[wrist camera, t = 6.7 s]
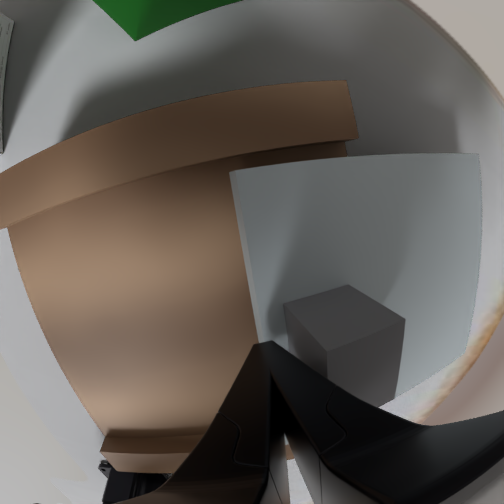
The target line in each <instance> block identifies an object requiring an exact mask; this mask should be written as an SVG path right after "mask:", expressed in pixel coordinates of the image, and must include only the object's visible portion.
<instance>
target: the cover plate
mask: <svg viewBox="0 0 504 504" xmlns="http://www.w3.org/2000/svg"><path fill="white" fill-rule="evenodd" d="M229 175H230V181H231V186H232V192H233V198H234V204H235V210H236V216H237V222H238V227H239V233H240V239H241V245H242V251H243V256H244V262H245V268H246V273H247V279H248V285H249V290H250V296H251V301H252V307H253V313H254V318H255V324H256V329H257V335H258V340H259V343H261V342H266V341H270V340H273V341H274V342H276V343H277V344H279V345H280V346H281V347H283V348H284V349H286V350H287V351H288V352H290V353H291V354H293V355H294V356H295V357H297V358H298V359H300V360H301V361H303V362H304V363H305V364H307V365H308V366H310V367H311V368H313V369H314V370H316V371H317V372H319V373H320V374H322V375H323V376H324V377H326V378H327V379H329V380H330V381H332V382H333V383H335V384H336V386H337V385H338V386H340V387H341V388H343V389H344V390H346V391H347V392H349V393H351V394H352V395H354V396H356V397H357V398H359V399H361V400H363V401H365V402H367V403H369V404H371V405H373V406H375V407H380V406H382V405H384V404H385V403H387V402H389V401H391V400H393V399H394V398H396V397H397V396H399V395H401V394H403V393H404V392H406V391H408V390H410V389H411V388H413V387H415V386H416V385H418V384H420V383H421V382H423V381H424V380H426V379H428V378H429V377H431V376H432V375H434V374H435V373H437V372H438V371H440V370H441V369H443V368H444V367H446V366H447V365H449V364H450V363H452V362H453V361H454V360H456V359H457V358H459V357H460V356H461V355H463V354H464V353H465V350H466V346H467V342H468V337H469V333H470V328H471V323H472V318H473V313H474V307H475V301H476V294H477V287H478V278H479V269H480V258H481V242H482V188H481V173H480V161H479V154H468V153H410V154H384V155H366V156H352V157H339V158H328V159H318V160H309V161H300V162H291V163H283V164H275V165H268V166H261V167H254V168H248V169H241V170H235V171H232V172H229ZM284 435H285V434H284ZM288 444H289V443H288V441H287V439H286V436H285V445H288Z"/></svg>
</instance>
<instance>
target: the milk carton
mask: <svg viewBox="0 0 504 504" xmlns="http://www.w3.org/2000/svg"><path fill="white" fill-rule="evenodd" d="M93 1H94V2H95V3H96V4H97V5H98V6H99V7H100V8H102V9H103V10H104V11H105V12H106V13H107V14H108V15H109V16H110V17H111V18H112V19H113V20H114V21H115V22H116V23H117V24H118V25H119V26H120V27H121V28H122V29H123V30H124V31H125V32H126V33H127V34H128V35H129V36H130V37H131V38H132V39H133V40H134V41H137V40H139V39H141V38H143V37H145V36H147V35H149V34H151V33H153V32H155V31H158V30H160V29H162V28H164V27H167V26H169V25H171V24H174V23H176V22H179V21H181V20H184V19H186V18H189V17H191V16H194V15H197V14H200V13H203V12H205V11H208V10H211V9H215V8H218V7H221V6H224V5H228V4H231V3H235V2H238V1H242V0H93Z"/></svg>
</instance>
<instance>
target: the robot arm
mask: <svg viewBox="0 0 504 504" xmlns="http://www.w3.org/2000/svg"><path fill="white" fill-rule="evenodd" d="M284 434H285V435H284ZM285 436H286V439H287V441H288V443H289V446H290V448H291V451H292V453H293V455H294V458H295V460H296V463H297V465H298V467H299V470H300V472H301V474H302V477H303V479H304V481H305V484H306V486H307V488H308V490H309V493H310V495H311V497H312V499H313V502H314V504H504V410H503V411H500V412H497V413H493V414H489V415H486V416H482V417H477V418H473V419H469V420H464V421H459V422H454V423H449V424H443V425H436V426H427V425H421V424H417V423H414V422H411V421H408V420H406V419H403V418H401V417H399V416H396V415H394V414H391V413H389V412H387V411H384V410H382V409H380V408H378V407H375V406H373V405H371V404H369V403H367V402H365V401H363V400H361V399H359V398H357V397H356V396H354V395H352V394H351V393H349V392H347V391H346V390H344V389H343V388H341V387H340V386H338V385H337V386H336V384H335V383H333V382H332V381H330V380H329V379H327V378H326V377H324V376H323V375H322V374H320V373H319V372H317V371H316V370H314V369H313V368H311V367H310V366H308V365H307V364H305V363H304V362H303V361H301V360H300V359H298V358H297V357H295V356H294V355H293V354H291V353H290V352H288V351H287V350H286V349H284V348H283V347H281V346H280V345H279V344H277V343H276V342H274V341H273V340H270V341H266V342H261V343H257V344H254V345H253V346H252V348H251V350H250V352H249V354H248V356H247V358H246V359H245V361H244V363H243V365H242V367H241V369H240V371H239V373H238V375H237V377H236V379H235V380H234V382H233V384H232V386H231V388H230V390H229V392H228V394H227V395H226V397H225V399H224V401H223V403H222V405H221V406H220V408H219V410H218V413H216V415H215V417H214V419H213V421H212V422H211V424H210V426H209V427H208V429H207V431H206V432H205V434H204V435H203V437H202V438H201V439H200V441H199V442H198V443H197V445H196V446H195V448H194V449H193V450H192V451H191V453H190V454H189V455H188V456H187V458H186V459H185V460H184V461H183V463H182V464H181V465H180V466H179V467H178V469H177V470H176V471H175V472H174V473H173V475H172V476H171V477H170V478H168V476H167V475H166V474H165V473H137V472H122V471H116V470H115V468H114V467H113V466H112V465H107V464H99V467H98V469H99V470H100V471H101V472H102V473H103V474H104V475H105V476H106V477H107V478H108V480H107V483H106V487H105V491H104V494H103V498H102V502H103V504H290V494H289V481H288V469H287V458H286V446H285ZM35 504H38V503H35Z"/></svg>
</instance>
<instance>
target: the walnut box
mask: <svg viewBox="0 0 504 504" xmlns="http://www.w3.org/2000/svg"><path fill="white" fill-rule="evenodd" d="M358 138H359V136H358V131H357V126H356V121H355V116H354V111H353V107H352V102H351V98H350V94H349V90H348V86H347V82H346V80H333V81H311V82H297V83H285V84H276V85H267V86H259V87H252V88H245V89H239V90H233V91H227V92H221V93H216V94H211V95H206V96H201V97H197V98H192V99H188V100H184V101H180V102H176V103H172V104H168V105H164V106H160V107H157V108H153V109H150V110H146V111H143V112H140V113H137V114H133V115H130V116H127V117H124V118H121V119H118V120H115V121H113V122H110V123H107V124H104V125H101V126H99V127H96V128H94V129H91V130H88V131H86V132H83V133H81V134H79V135H76V136H74V137H71V138H69V139H67V140H65V141H62V142H60V143H58V144H56V145H53V146H51V147H49V148H47V149H45V150H43V151H41V152H39V153H37V154H35V155H33V156H31V157H29V158H27V159H25V160H23V161H21V162H20V163H18V164H16V165H14V166H12V167H11V168H9V169H7V170H5V171H4V172H2V173H0V229H3V228H6V227H7V228H8V233H9V237H10V241H11V244H12V248H13V252H14V255H15V259H16V262H17V265H18V268H19V272H20V275H21V278H22V281H23V283H24V286H25V289H26V292H27V295H28V297H29V300H30V302H31V305H32V308H33V310H34V312H35V315H36V317H37V320H38V322H39V324H40V327H41V329H42V331H43V333H44V335H45V337H46V340H47V342H48V344H49V346H50V348H51V350H52V352H53V354H54V356H55V358H56V360H57V362H58V363H59V365H60V367H61V369H62V371H63V373H64V374H65V376H66V378H67V380H68V381H69V383H70V385H71V387H72V388H73V390H74V392H75V393H76V395H77V396H78V398H79V400H80V401H81V403H82V404H83V406H84V407H85V409H86V410H87V412H88V413H89V415H90V416H91V418H92V419H93V421H94V422H95V423H96V425H97V426H98V428H99V429H100V430H101V432H102V433H103V435H104V436H105V439H104V442H103V444H102V447H101V450H100V452H101V454H102V455H103V456H104V457H105V458H106V459H107V461H108V462H109V463H110V464H111V465H112V466H113V467H114V468H115V470H116V471H122V472H137V473H174V472H175V471H176V470H177V469H178V467H179V466H180V465H181V464H182V463H183V461H184V460H185V459H186V458H187V456H188V455H189V454H190V453H191V451H192V450H193V449H194V448H195V446H196V445H197V443H198V442H199V441H200V439H201V438H202V437H203V435H204V434H205V432H206V431H207V429H208V427H209V426H210V424H211V422H212V421H213V419H214V417H215V415H216V413H218V410H219V408H220V406H221V405H222V403H223V401H224V399H225V397H226V395H227V394H228V392H229V390H230V388H231V386H232V384H233V382H234V380H235V379H236V377H237V375H238V373H239V371H240V369H241V367H242V365H243V363H244V361H245V359H246V358H247V356H248V354H249V352H250V350H251V348H252V346H253V345H254V344H257V343H259V340H258V335H257V329H256V324H255V318H254V313H253V307H252V301H251V296H250V290H249V285H248V279H247V273H246V268H245V262H244V256H243V251H242V245H241V239H240V233H239V227H238V222H237V216H236V210H235V204H234V198H233V192H232V186H231V181H230V175H229V172H232V171H235V170H241V169H248V168H254V167H261V166H268V165H275V164H283V163H291V162H300V161H309V160H318V159H328V158H339V157H347V152H346V147H345V142H346V141H350V140H354V139H358ZM285 446H286V458H287V460H290V459H294V455H293V453H292V451H291V448H290V446H289V444H288V445H285Z"/></svg>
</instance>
